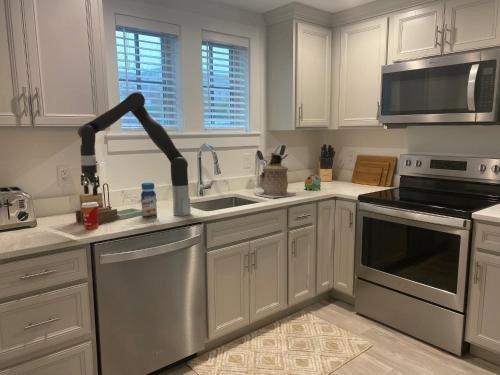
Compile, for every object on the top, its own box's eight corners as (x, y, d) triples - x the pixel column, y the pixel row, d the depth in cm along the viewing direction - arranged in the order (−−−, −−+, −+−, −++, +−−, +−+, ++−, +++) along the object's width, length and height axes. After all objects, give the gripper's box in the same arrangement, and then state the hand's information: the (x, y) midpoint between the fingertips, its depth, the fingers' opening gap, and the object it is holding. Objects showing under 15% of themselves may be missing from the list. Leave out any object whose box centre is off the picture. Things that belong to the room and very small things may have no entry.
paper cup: (81, 230, 184) (79, 203, 182) (98, 228, 189) (96, 201, 187) (85, 234, 178) (83, 205, 176) (102, 231, 182) (100, 203, 180)
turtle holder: (326, 188, 306) (327, 174, 305) (314, 191, 294) (314, 176, 292) (314, 187, 315) (314, 173, 313) (301, 190, 302) (301, 175, 300)
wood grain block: (103, 218, 204) (102, 193, 202) (84, 222, 195) (82, 195, 193) (100, 217, 206) (99, 192, 204) (81, 221, 197) (79, 195, 195)
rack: (118, 222, 200) (117, 209, 199) (91, 228, 188) (90, 214, 187) (102, 219, 209) (101, 206, 208) (76, 224, 197) (75, 210, 196)
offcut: (107, 219, 201) (106, 207, 200) (90, 223, 193) (89, 211, 192) (105, 219, 202) (104, 207, 202) (87, 222, 195) (86, 210, 194)
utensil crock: (298, 195, 276) (298, 152, 271) (271, 199, 262) (271, 153, 257) (277, 191, 296) (276, 150, 291) (251, 194, 282) (250, 152, 277)
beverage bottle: (159, 217, 211) (158, 182, 208) (153, 220, 203) (151, 184, 200) (145, 217, 213) (143, 182, 210) (139, 220, 205) (137, 184, 202)
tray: (145, 216, 213) (144, 210, 213) (120, 222, 201) (120, 215, 200) (132, 214, 221) (132, 207, 220) (108, 219, 208) (107, 212, 208)
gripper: (102, 164, 195) (104, 195, 197) (88, 162, 204) (90, 192, 206) (89, 165, 189) (91, 197, 191) (74, 163, 198) (77, 194, 200)
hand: (90, 194), depth 199 cm, fingers open, 8 cm apart
